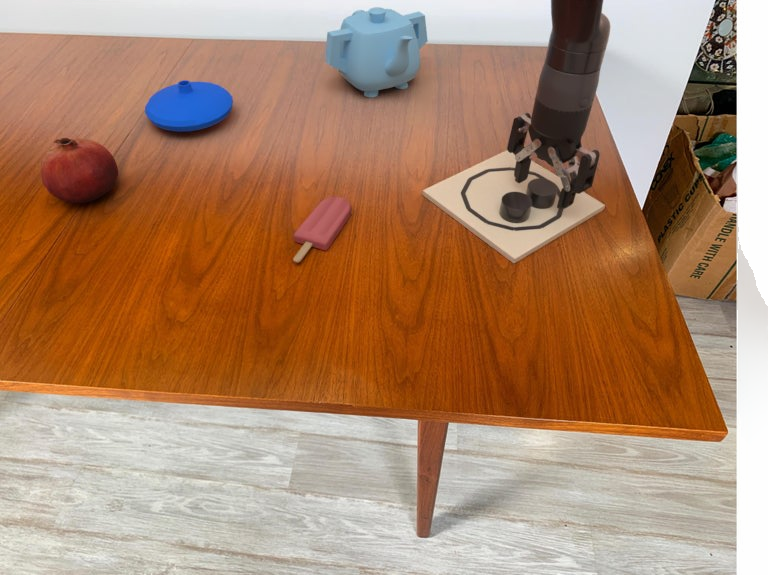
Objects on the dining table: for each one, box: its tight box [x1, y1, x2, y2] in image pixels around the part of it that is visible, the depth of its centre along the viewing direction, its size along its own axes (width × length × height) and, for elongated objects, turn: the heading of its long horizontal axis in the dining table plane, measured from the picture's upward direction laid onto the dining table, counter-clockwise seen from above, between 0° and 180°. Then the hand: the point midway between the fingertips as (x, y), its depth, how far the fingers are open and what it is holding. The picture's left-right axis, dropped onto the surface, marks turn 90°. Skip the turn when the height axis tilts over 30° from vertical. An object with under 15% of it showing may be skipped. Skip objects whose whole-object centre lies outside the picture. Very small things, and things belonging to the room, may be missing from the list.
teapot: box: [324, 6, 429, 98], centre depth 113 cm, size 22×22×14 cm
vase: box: [144, 79, 234, 132], centre depth 106 cm, size 16×16×7 cm
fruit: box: [40, 137, 119, 204], centre depth 89 cm, size 11×10×10 cm
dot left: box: [499, 192, 532, 223], centre depth 87 cm, size 4×4×2 cm
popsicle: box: [292, 196, 352, 264], centre depth 85 cm, size 5×2×15 cm
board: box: [422, 149, 606, 264], centre depth 91 cm, size 20×20×1 cm
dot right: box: [526, 178, 558, 209], centre depth 89 cm, size 4×4×2 cm
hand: (541, 193), depth 89 cm, fingers open, 8 cm apart
